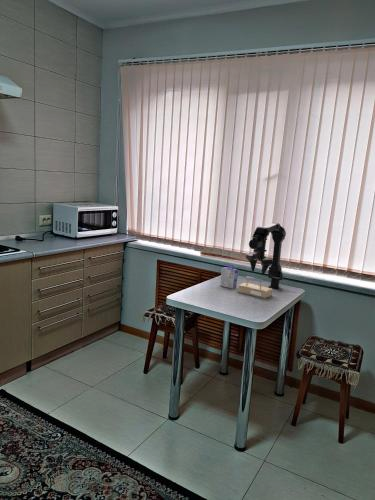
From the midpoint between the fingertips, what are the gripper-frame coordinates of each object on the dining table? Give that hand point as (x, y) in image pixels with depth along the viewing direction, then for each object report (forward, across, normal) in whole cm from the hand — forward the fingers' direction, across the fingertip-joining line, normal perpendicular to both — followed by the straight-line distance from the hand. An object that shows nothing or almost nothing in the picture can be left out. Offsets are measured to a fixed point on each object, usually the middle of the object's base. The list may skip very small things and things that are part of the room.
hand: (257, 273), depth 234 cm
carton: (+14, -2, +1) cm, 14 cm away
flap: (+10, -2, +1) cm, 10 cm away
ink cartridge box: (+14, -21, -5) cm, 26 cm away
